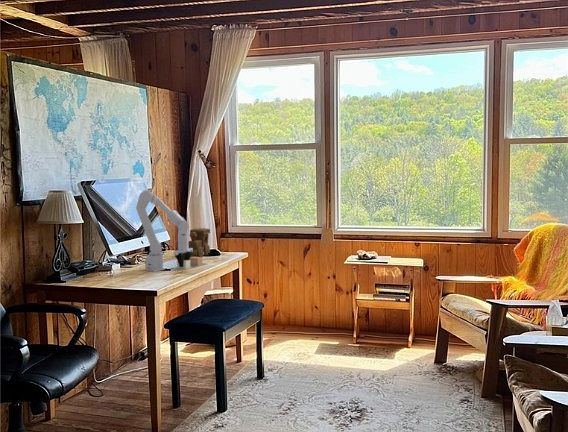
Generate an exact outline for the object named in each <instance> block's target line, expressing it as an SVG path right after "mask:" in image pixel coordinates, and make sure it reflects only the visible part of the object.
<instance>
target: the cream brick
mask: <svg viewBox="0 0 568 432" xmlns="http://www.w3.org/2000/svg"><path fill="white" fill-rule="evenodd" d="M176 264H177V266H176V267H177V268H184V269H187V268H190V260H184V264H183V267H179V263H178V260H177V261H176Z"/></svg>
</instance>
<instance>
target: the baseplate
mask: <svg viewBox="0 0 568 432" xmlns="http://www.w3.org/2000/svg"><path fill="white" fill-rule="evenodd" d="M207 265H208V263H203V256H202V257H198V256H191V257H190V268H187V269H184V268H177V266H174V267H175V268H174V267H170V269H173V270H180V271H181V270H182V271H183V270H184V271H188V270H191V269H192V270H193V269H195V268H199V267H203V266H207Z"/></svg>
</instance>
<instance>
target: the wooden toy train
mask: <svg viewBox="0 0 568 432" xmlns="http://www.w3.org/2000/svg"><path fill="white" fill-rule="evenodd" d="M210 233H211V229H210V228H205V227H204V228H202V227H200V228H198V227H197V228H193V229H189V237H190V240H188V244H189V248H193V252H191V253H192V255H191V256H196V257H202V258H203V256H204V255H205V256H209V254H210V252H211V247H210V245H209V235H210ZM208 253H209V254H208Z"/></svg>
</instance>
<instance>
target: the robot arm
mask: <svg viewBox="0 0 568 432" xmlns="http://www.w3.org/2000/svg"><path fill="white" fill-rule="evenodd" d="M136 203H137V204H136V207H135V209H136V211H137V215H138V218H139V220H140V222H141V225H142V227H143V229H144V232H145V234H146V237H147V240H148V243H149V253H148V256H146V257H145V259H144V261H145V266H144V267H145V271H148V272H159V271H163V270H166V269H167V268H166V267H164V257H163V256H164V255H163V254H164V253H163V252H162V250H163V247H162V243H161V242H160V241H158V238H157V235H156V233H155V231H154V228H153V226H152V223H151V221H150V217H149V215H148V213H147V210H146V209H147V206H148V205H149V203H151V204H154V205H156V206H158V207H159V208H160V209H161V210H162V211H163V212H164V213H165V214H166V218H167V219H168V220H169V221H170V222H171V223H172V224H173V225H174V226H176V228H177V249H176V250H175V251H174V250H173V256H175V259H176V260H177V261H178V263H179V267H183V264H184V260H190V257H192V256H193V255H192V253H191V252H193V248H189V244H188V242H189V228H190V226H189V223H188V222H187V220H186V219H185V218H184V217H183V216H181V215H180V214H179V212H178V211H177V210H175V209H170V208H169V207H168V205H166V203H164V202H163V201H162V200H161V198H159V196H157V195H156V194H155V193H152V191H151V190H149V189H144V190H143V191H142V192H140V194H139V196H138V198H137V202H136Z"/></svg>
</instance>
